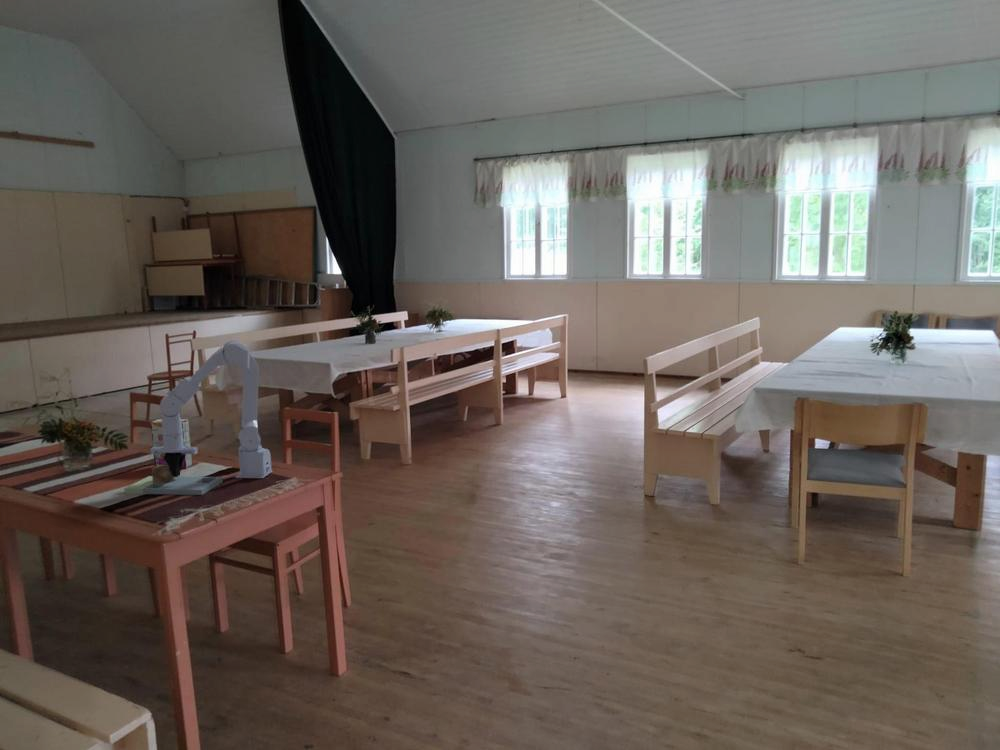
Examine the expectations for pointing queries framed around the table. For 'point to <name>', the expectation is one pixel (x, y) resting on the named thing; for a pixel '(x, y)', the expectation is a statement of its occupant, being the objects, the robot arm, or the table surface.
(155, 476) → the walnut block
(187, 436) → the candy bar box
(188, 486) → the board
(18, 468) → the table surface
